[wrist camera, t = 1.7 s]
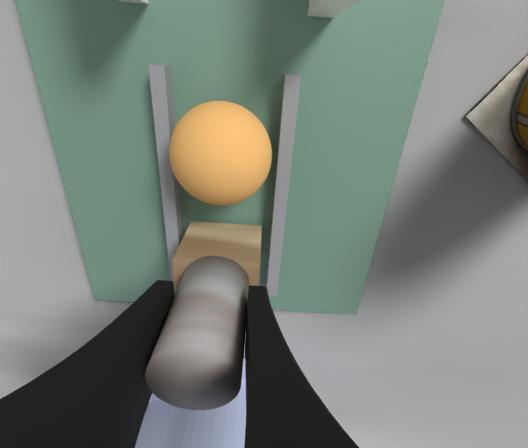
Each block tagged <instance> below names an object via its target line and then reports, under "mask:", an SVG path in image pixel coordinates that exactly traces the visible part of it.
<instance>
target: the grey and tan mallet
mask: <svg viewBox="0 0 528 448" xmlns="http://www.w3.org/2000/svg"><path fill="white" fill-rule="evenodd" d="M261 230H262V225H246V224H229V223H213V222H197V221H191V222H190V224H189V226H188V228H187V230H186V233H185V235H184V237H183V239H182V241H181V243H180V245H179V247H178V249H177V251H176V253H175V255H174V258H173V260H172V269H173V279H174V289H175V298H174V300H173V303H172V305H171V308H170V310H169V313H168V315H167V318H166V320H165V323H164V326H163V328H162V331H161V333H160V336H159V338H158V341H157V343H156V346H155V348H154V351H153V353H152V356H151V359H150V361H149V364H148V366H147V369H146V372H145V380H146V384H147V386H148V388H149V389H150V390H151V392H152V393H153V394H154V395H155V396H157V397H158V398H159V399H161V400H162V401H164V402H166V403H168V404H170V405H172V406H175V407H178V408H183V409H188V410H210V409H215V408H219V407H222V406H224V405H226V404H228V403H229V402H231V401H232V400H233V399H235V397H236V396H237V395H238V393H239V391H240V389H241V381H242V369H243V357H244V344H245V332H246V320H247V299H248V289H249V285H253V286H259V276H260V257H261Z"/></svg>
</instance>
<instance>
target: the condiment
mask: <svg viewBox="0 0 528 448" xmlns="http://www.w3.org/2000/svg"><path fill="white" fill-rule="evenodd" d="M466 117H467V118H468V119H469V120H470V121H471V122H472V123H473V124H474V125H475V127H476V128H477V129H478V130H479V131H480V132H481V133H482V134H483V135H484V136H485V137H486V138H487V140H488V141H489V142H490V143H492V144H493V145H494V146H495V148H496V149H497V150H498V151H499V152H500V153H501V154H502V155H503V156H504V157H505V158H506V159H507V160H508V161H509V163H510V164H512V165H513V166H514V167H515V168H516V169H517V170H518V172H519V173H521V174H522V175H523V176H524V177H525V178H526V179H527V180H528V55H527V56H526V57H525V58H524V59H523V60H522V61H521V62H520V63H519V64H518V65H517V66H516V67H515V68H514V69H513V70H512V71H511V72H510V73H509V74H508V75H507V76H506V77H505V78H504V79H503V80H502V81H501V82H500V83H499V84H498V85H497V87H496V88H495V89H494V90H493V91H492V92H491V93H490V94H489V95H488V96H487V97H486V98H485V99H484V100H483V101H482V102H481V103H480V104H479V105H477V106H476V107H475V108H474V109H473V110H472V111H471V112H470V113H469V114H468V115H467V116H466Z"/></svg>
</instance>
